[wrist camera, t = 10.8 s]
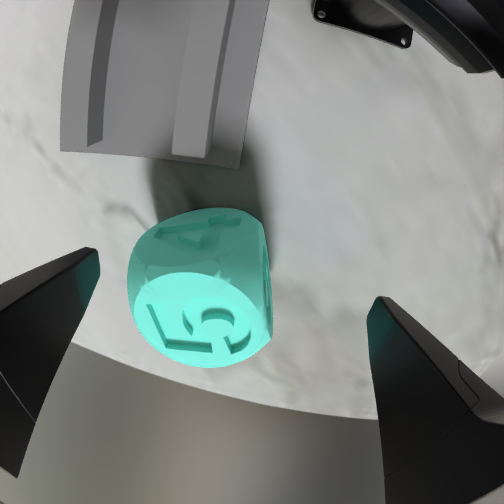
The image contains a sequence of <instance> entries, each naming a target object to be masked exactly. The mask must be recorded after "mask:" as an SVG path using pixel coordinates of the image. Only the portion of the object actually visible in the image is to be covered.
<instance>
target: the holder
mask: <svg viewBox="0 0 504 504" xmlns="http://www.w3.org/2000/svg"><path fill="white" fill-rule="evenodd" d="M268 5H269V0H75V1H74V6H73V10H72V15H71V21H70V26H69V32H68V38H67V45H66V52H65V61H64V70H63V81H62V95H61V117H60V151H65V152H85V153H101V154H114V155H126V156H137V157H147V158H157V159H166V160H174V161H183V162H190V163H198V164H205V165H212V166H219V167H226V168H232V169H239V167H240V161H241V155H242V149H243V143H244V137H245V131H246V125H247V119H248V113H249V107H250V101H251V96H252V90H253V84H254V79H255V73H256V68H257V62H258V57H259V51H260V46H261V41H262V35H263V30H264V25H265V20H266V15H267V10H268Z"/></svg>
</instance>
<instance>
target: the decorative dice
mask: <svg viewBox="0 0 504 504" xmlns="http://www.w3.org/2000/svg"><path fill="white" fill-rule="evenodd" d="M127 288H128V298H129V304H130V309H131V313H132V316H133V319H134V321H135V324H136V326H137V328H138V330H139V331H140V333H141V334H142V335H143V337H144V338H145V339H146V340H147V341H148V342H149V343H150V344H151V345H152V346H153V347H154V348H155V349H156V350H158V351H159V352H160V353H162V354H164V355H165V356H167V357H169V358H171V359H173V360H175V361H178V362H180V363H183V364H187V365H191V366H196V367H204V368H216V367H224V366H228V365H232V364H235V363H237V362H240V361H242V360H245V359H247V358H248V357H250V356H252V355H253V354H255V353H256V352H258V351H259V350H260V349H261V348H262V347H264V346H265V345H266V344H267V343H268V342H269V340H270V339H271V338H272V334H273V307H272V290H271V278H270V268H269V260H268V252H267V245H266V239H265V234H264V229H263V226H262V223H261V222H260V221H258V220H257V219H255V218H254V217H253V216H251V215H250V214H248V213H246V212H244V211H242V210H238V209H233V208H206V209H200V210H194V211H190V212H186V213H183V214H180V215H177V216H174V217H171V218H169V219H167V220H164V221H162V222H161V223H159V224H157V225H155V226H154V227H152V228H151V229H149V230H148V231H147V232H145V233H144V234H143V235H142V236H141V237H140V239H139V240H138V241H137V243H136V245H135V247H134V249H133V251H132V254H131V257H130V261H129V266H128V276H127Z"/></svg>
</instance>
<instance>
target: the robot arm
mask: <svg viewBox="0 0 504 504" xmlns="http://www.w3.org/2000/svg"><path fill="white" fill-rule="evenodd" d="M319 12H321V13H323V14H324V16H325V17H324V18H320V17H318V15H317V13H319ZM313 18H314V20H316V21H317V22H320V23H324V24H328V25H331V26H335V27H339V28H342V29H346V30H349V31H353V32H356V33H359V34H362V35H365V36H368V37H371V38H374V39H377V40H380V41H383V42H385V43H388V44H391V45H393V46H396V47H398V48H401V49H406V48H409V47H410V45H411V41H412V35H413V30H414V31H416V32H417V33H418V34H419V35H420V36H422V37H423V38H424V39H425V40H426V41H427V42H429V43H430V44H431V45H432V46H433V47H434V48H435V49H436V50H437V51H439V52H440V53H441V54H442V55H443V56H444V57H445V58H446V59H447V60H448V61H449V62H451V63H452V64H454V65H456V66H458V67H462V68H463V70H464V71H465V72H466V73H488V72H492V71H496V72H497V74H498V75H499V76H500V77H501V78H504V0H315V3H314V8H313ZM401 39H404V41H405V45H403V44H402V43H401ZM99 277H100V264H99V256H98V251H97V250H96V249H94V248H89V247H84V248H82V249H79V250H77V251H74V252H72V253H69V254H67V255H65V256H62V257H60V258H58V259H55V260H53V261H51V262H48V263H46V264H44V265H41V266H39V267H37V268H34V269H32V270H30V271H28V272H26V273H23V274H21V275H19V276H17V277H15V278H12V279H10V280H8V281H6V282H4V283H2V284H0V468H1V469H2V470H4V471H5V472H7V473H9V474H10V475H12V476H13V477H15V478H18V475H19V472H20V469H21V465H22V462H23V459H24V456H25V453H26V450H27V446H28V443H29V441H30V438H31V435H32V432H33V429H34V426H35V422H36V420H37V418H38V415H39V412H40V410H41V407H42V405H43V403H44V400H45V398H46V395H47V393H48V390H49V388H50V385H51V383H52V381H53V379H54V376H55V374H56V372H57V370H58V367H59V365H60V363H61V361H62V359H63V356H64V354H65V352H66V350H67V348H68V346H69V344H70V342H71V340H72V338H73V336H74V334H75V332H76V330H77V328H78V326H79V324H80V322H81V320H82V318H83V316H84V314H85V311H86V309H87V306H88V304H89V301H90V299H91V296H92V294H93V291H94V289H95V287H96V284H97V282H98V280H99ZM367 333H368V346H369V359H370V367H371V373H372V379H373V385H374V392H375V398H376V405H377V413H378V420H379V428H380V437H381V446H382V457H383V467H384V477H385V478H384V482H385V501H386V504H504V398H503V397H502V396H501V395H499V394H498V393H497V392H496V391H495V390H494V389H492V388H491V387H490V386H489V385H488V384H486V383H485V382H484V381H483V380H482V379H481V378H479V377H478V376H477V375H476V374H475V373H474V372H473V371H472V370H470V369H469V368H468V367H467V366H466V365H465V364H464V363H463V362H462V361H461V360H458V358H457V357H456V356H455V355H454V354H453V353H452V352H451V351H450V350H449V349H448V348H447V347H445V346H444V345H443V344H442V343H441V342H440V341H439V340H438V339H437V338H435V337H434V336H433V335H432V334H431V333H430V332H429V331H428V330H427V329H425V328H424V327H423V326H422V325H421V324H420V323H419V322H417V321H416V320H415V319H414V318H413V317H412V316H411V315H409V314H408V313H407V312H406V311H405V310H404V309H402V308H401V307H400V306H399V305H398V304H397V303H395V302H394V301H393V300H392V299H391V298H389V297H384V296H378V297H377V298H376V299H375V301H374V303H373V305H372V307H371V309H370V311H369V313H368V316H367ZM0 504H4V503H3V502H1V501H0Z"/></svg>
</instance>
